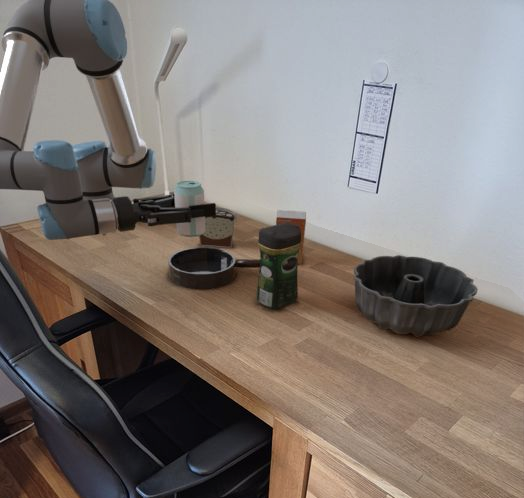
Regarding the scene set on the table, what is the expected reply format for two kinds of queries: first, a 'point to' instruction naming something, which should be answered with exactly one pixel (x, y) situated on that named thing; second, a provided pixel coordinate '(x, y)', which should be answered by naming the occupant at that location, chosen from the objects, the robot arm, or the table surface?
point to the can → (185, 197)
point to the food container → (219, 229)
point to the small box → (296, 219)
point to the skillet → (202, 267)
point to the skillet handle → (247, 263)
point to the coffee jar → (278, 265)
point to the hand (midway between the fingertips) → (209, 204)
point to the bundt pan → (412, 294)
